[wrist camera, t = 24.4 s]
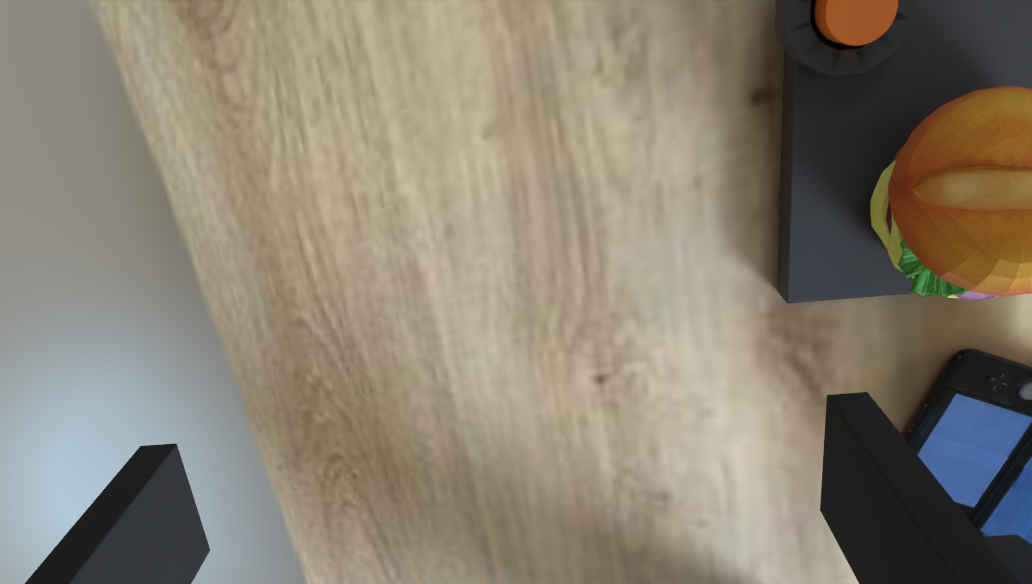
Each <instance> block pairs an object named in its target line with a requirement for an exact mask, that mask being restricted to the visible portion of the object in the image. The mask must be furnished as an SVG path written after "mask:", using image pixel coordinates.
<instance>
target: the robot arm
mask: <svg viewBox="0 0 1032 584" xmlns="http://www.w3.org/2000/svg"><path fill="white" fill-rule="evenodd" d="M820 511H821V512H822V514H823V516H824V518H825V520H826V522H827V524H828V526H829V527H830V529H831V531H832V533H833V535H834V537H835V539H836V541H837V542H838V544H839V546H840V548H841V550H842V552H843V554H844V556H845V557H846V559H847V561H848V563H849V565H850V567H851V569H852V571H853V572H854V574H855V576H856V578H857V580H858V582H859V584H1032V544H1031V543H1030V542H1028V541H1026V540H1025V539H1023V538H1022V537H1020V536H1019V535H1017V534H1015V535H999V536H983V537H982V535H981V534H980V533H979V532H978V530H977V529H976V528H975V527H974V525H973V524H972V523H971V522H970V520H969V519H968V518H967V517H966V515H965V514H964V513H963V511H962V510H961V509H960V508H959V506H958V505H957V504H956V503H955V501H954V500H953V499H952V498H951V496H950V495H949V494H948V493H947V491H946V490H945V489H944V488H943V486H942V485H941V484H940V483H939V481H938V480H937V479H936V478H935V476H934V475H933V474H932V473H931V471H930V470H929V469H928V468H927V466H926V465H925V464H924V463H923V461H922V460H921V459H920V458H919V456H918V455H917V454H916V453H915V451H914V450H913V449H912V448H911V446H910V445H909V444H908V443H907V441H906V440H905V439H904V438H903V436H902V435H901V434H900V433H899V431H898V430H897V429H896V428H895V426H894V425H893V424H892V423H891V421H890V420H889V419H888V418H887V416H886V415H885V414H884V413H883V411H882V410H881V409H880V408H879V406H878V405H877V404H876V403H875V401H874V400H873V399H872V398H871V396H870V395H869V394H868V393H867V392H862V393H849V394H835V395H827V405H826V422H825V439H824V455H823V472H822V489H821V506H820ZM209 551H210V548H209V545H208V542H207V539H206V536H205V533H204V529H203V526H202V523H201V520H200V517H199V514H198V510H197V507H196V504H195V501H194V498H193V494H192V491H191V488H190V485H189V481H188V479H187V475H186V472H185V469H184V466H183V462H182V459H181V456H180V453H179V450H178V447H177V444H164V445H150V446H140V448H139V449H138V450H137V451H136V452H135V453H134V455H133V456H132V457H131V458H130V459H129V461H128V462H127V463H126V464H125V465H124V466H123V468H122V469H121V470H120V471H119V472H118V474H117V475H116V476H115V477H114V478H113V480H112V481H111V482H110V483H109V484H108V485H107V487H106V488H105V489H104V490H103V491H102V493H101V494H100V495H99V496H98V497H97V498H96V500H95V501H94V502H93V503H92V504H91V506H90V507H89V508H88V509H87V511H86V512H85V513H84V514H83V515H82V516H81V517H80V519H79V520H78V521H77V522H76V523H75V525H74V526H73V527H72V528H71V529H70V530H69V532H68V533H67V534H66V535H65V536H64V538H63V539H62V540H61V541H60V543H59V544H58V545H57V546H56V547H55V548H54V549H53V551H52V552H51V553H50V554H49V555H48V557H47V558H46V559H45V560H44V561H43V563H42V564H41V565H40V566H39V567H38V569H37V570H36V571H35V572H34V573H33V574H32V576H31V577H30V578H29V579H28V580H27V582H26V583H25V584H191V583H192V581H193V579H194V578H195V576H196V574H197V572H198V570H199V569H200V567H201V565H202V563H203V562H204V560H205V558H206V556H207V555H208V553H209Z"/></svg>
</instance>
